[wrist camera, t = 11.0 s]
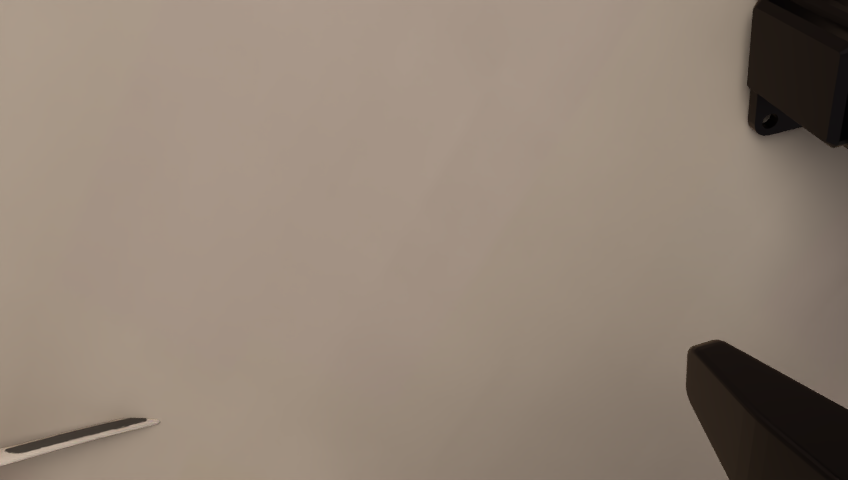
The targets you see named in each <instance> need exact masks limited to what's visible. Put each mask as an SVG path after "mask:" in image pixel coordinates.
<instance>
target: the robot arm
mask: <svg viewBox="0 0 848 480" xmlns="http://www.w3.org/2000/svg"><path fill="white" fill-rule="evenodd" d="M747 85H748V87H749V88H751V91H750V102H749V114H748V123H749V126H750V127H751V128H752V129H753V130H754V131H755V132H757V133H758V134H760V135H763V136H765V135H772V134H775V133H779V132H783V131H787V130H791V129H795V128H799V127H804V128H805V129H807V130H808V131H809V132H811V133H812V134H813V135H815V136H816V137H818V138H819V139H820V140H822V141H823V142H824V143H826V144H827V145H828V146H830V147H833V148H835V147H839V146H844V147H846V148H847V149H848V0H758V1H757V3H756V5H755V6H754V8H753V18H752V30H751V43H750V55H749V67H748V80H747ZM770 114H771V116H770V118H769V119H768V120H767V121H766V122H764V123H762V122H763V120H764V118H765V117H766V116H768V115H770ZM686 390H687V395H688V398H689V401H690V403H691V405H692V407H693V409H694V411H695V413H696V415H697V417H698V419H699V421H700V423H701V425H702V427H703V429H704V431H705V433H706V435H707V437H708V439H709V441H710V443H711V445H712V447H713V449H714V451H715V452H716V454H717V456H718V458H719V460H720V462H721V464H722V466H723V468H724V470H725V472H726V474H727V476H728V478H729V480H848V409H846V408H844V407H842V406H840V405H838V404H837V403H835V402H833V401H831V400H829V399H828V398H826V397H824V396H822V395H820V394H819V393H817V392H815V391H813V390H811V389H810V388H808V387H806V386H804V385H802V384H800V383H799V382H797V381H795V380H793V379H791V378H790V377H788V376H786V375H784V374H782V373H781V372H779V371H777V370H775V369H773V368H772V367H770V366H768V365H766V364H764V363H762V362H761V361H759V360H757V359H755V358H753V357H752V356H750V355H748V354H746V353H744V352H743V351H741V350H739V349H737V348H735V347H734V346H732V345H730V344H728V343H726V342H724V341H721V340H711V341H708V342H705V343H701V344H698V345H695V346H692V347H691V348H690V349H689V351H688V354H687V374H686Z"/></svg>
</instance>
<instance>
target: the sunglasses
mask: <svg viewBox="0 0 848 480" xmlns="http://www.w3.org/2000/svg"><path fill="white" fill-rule="evenodd" d="M158 423H160V420H157V419H146V418H122V419H118V420H113V421H109V422H105V423H101V424H97V425H93V426H89V427H85V428H81V429H77V430H73V431H69V432H65V433H61V434H57V435H53V436H49V437H45V438H41V439H38V440H34V441H30V442H26V443H22V444H18V445H15V446H11V447H6V448H1V449H0V466H2V465H7V464H11V463H14V462H18V461H21V460H25V459H28V458H32V457H35V456H39V455H42V454H46V453H49V452H52V451H56V450H59V449H63V448H66V447H70V446H73V445H77V444H81V443H85V442H89V441H92V440H96V439H100V438H104V437H108V436H112V435H116V434H119V433H123V432H127V431H131V430H136V429H140V428H144V427H148V426H152V425H156V424H158Z"/></svg>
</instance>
